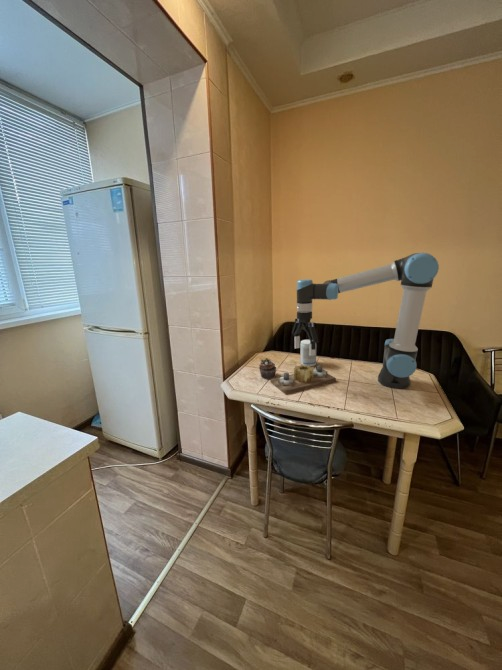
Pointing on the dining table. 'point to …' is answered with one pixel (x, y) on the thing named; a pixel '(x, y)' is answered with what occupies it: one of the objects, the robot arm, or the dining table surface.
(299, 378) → the brass gear
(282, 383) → the gear board
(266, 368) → the cupcake
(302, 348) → the supplement tub
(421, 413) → the dining table surface
